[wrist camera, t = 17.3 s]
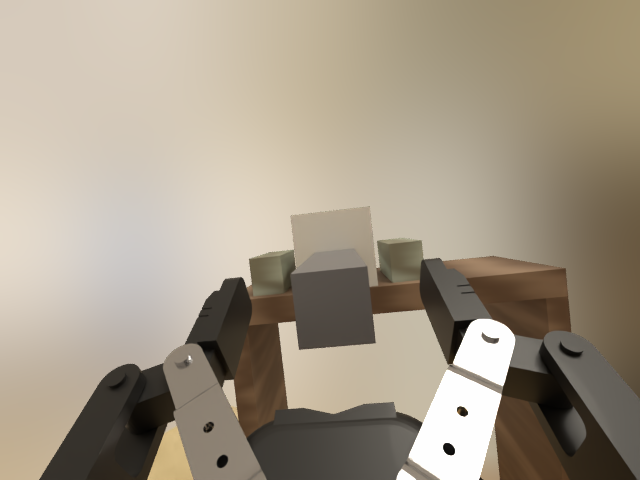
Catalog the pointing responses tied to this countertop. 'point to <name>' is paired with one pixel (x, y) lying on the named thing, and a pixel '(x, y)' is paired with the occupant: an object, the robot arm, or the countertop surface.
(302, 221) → the module
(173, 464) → the countertop surface
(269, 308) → the countertop shelf
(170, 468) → the countertop surface
